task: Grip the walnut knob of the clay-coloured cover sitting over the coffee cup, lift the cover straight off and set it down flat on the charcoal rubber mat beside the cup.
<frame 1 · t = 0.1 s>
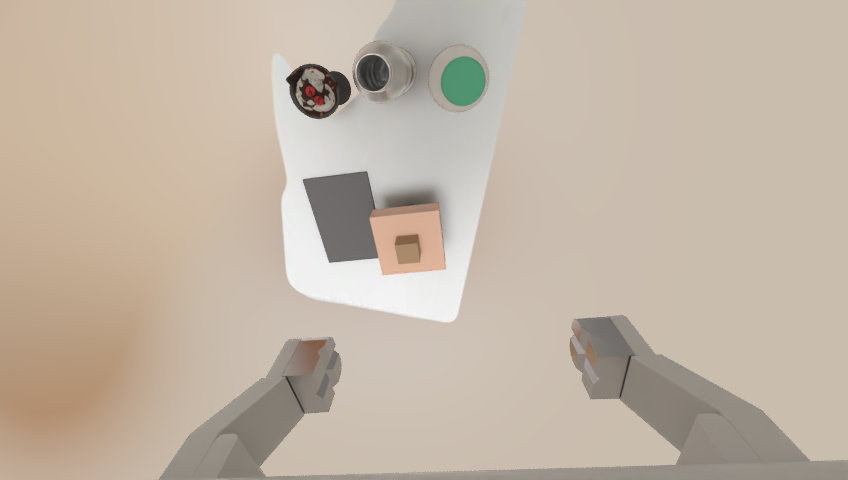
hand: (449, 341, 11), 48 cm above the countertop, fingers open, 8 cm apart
sundae: (336, 88, 51), on the countertop
cover: (409, 242, 52), point 10 cm above the countertop, touching coffee cup
milk bottle: (454, 78, 50), on the countertop
mat: (347, 219, 62), on the countertop
plastic bottle: (395, 72, 50), on the countertop
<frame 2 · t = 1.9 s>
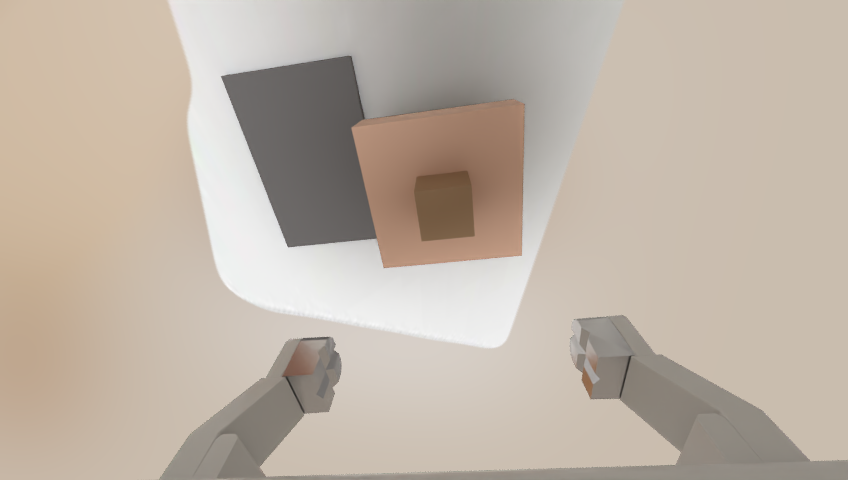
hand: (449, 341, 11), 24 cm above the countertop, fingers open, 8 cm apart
cover: (444, 193, 23), point 10 cm above the countertop, touching coffee cup
mat: (316, 164, 33), on the countertop
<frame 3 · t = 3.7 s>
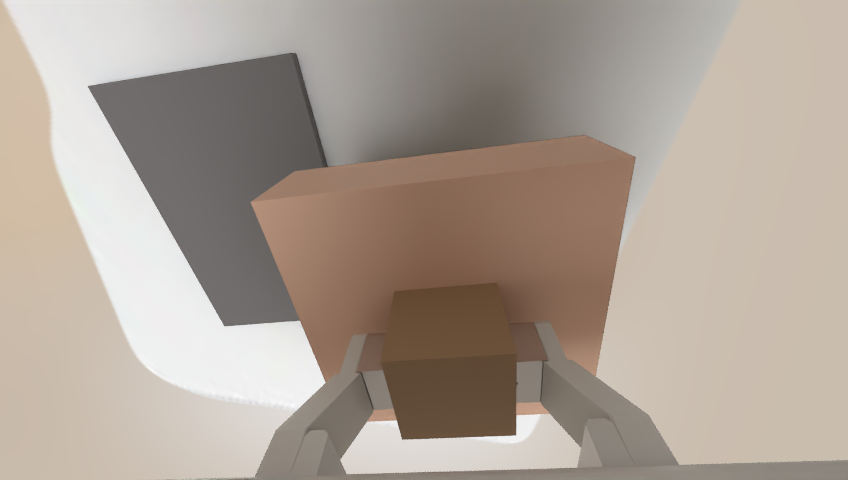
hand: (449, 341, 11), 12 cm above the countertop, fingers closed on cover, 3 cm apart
cover: (449, 310, 12), point 10 cm above the countertop, touching coffee cup, gripper
mat: (254, 216, 22), on the countertop
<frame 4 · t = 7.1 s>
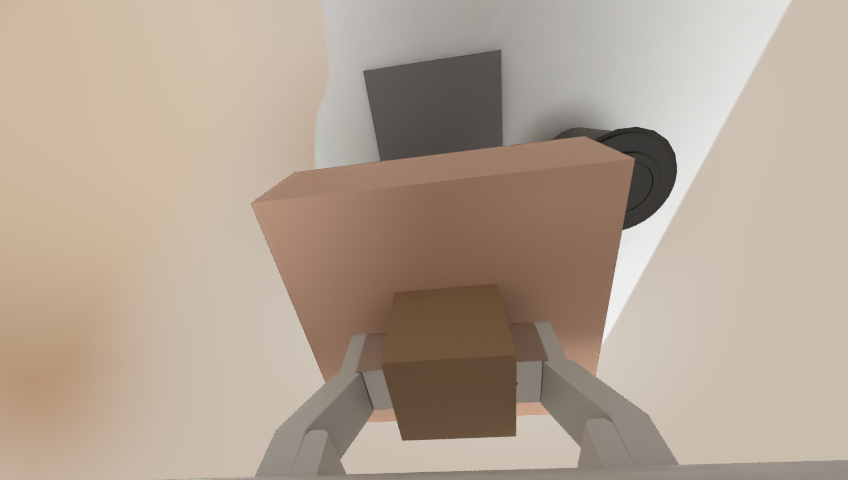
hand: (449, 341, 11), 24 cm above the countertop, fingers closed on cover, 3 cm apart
coffee cup: (572, 155, 31), on the countertop
cover: (448, 311, 12), point 22 cm above the countertop, touching gripper
mat: (441, 162, 32), on the countertop
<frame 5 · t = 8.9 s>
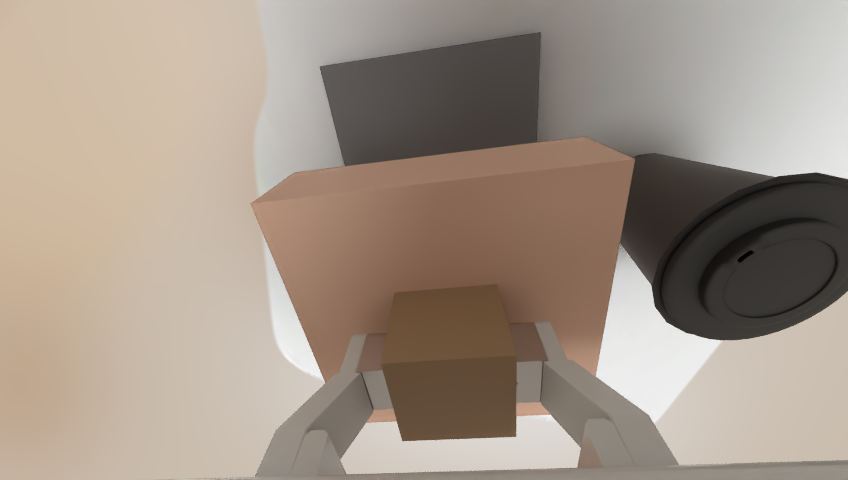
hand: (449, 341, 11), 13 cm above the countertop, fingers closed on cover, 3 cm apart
coffee cup: (636, 192, 21), on the countertop
cover: (448, 312, 12), point 11 cm above the countertop, touching gripper
mat: (443, 201, 22), on the countertop
when the fingers open (6 cm above the countertop, at t = 10.5 s): cover drops 1 cm, resting on mat.
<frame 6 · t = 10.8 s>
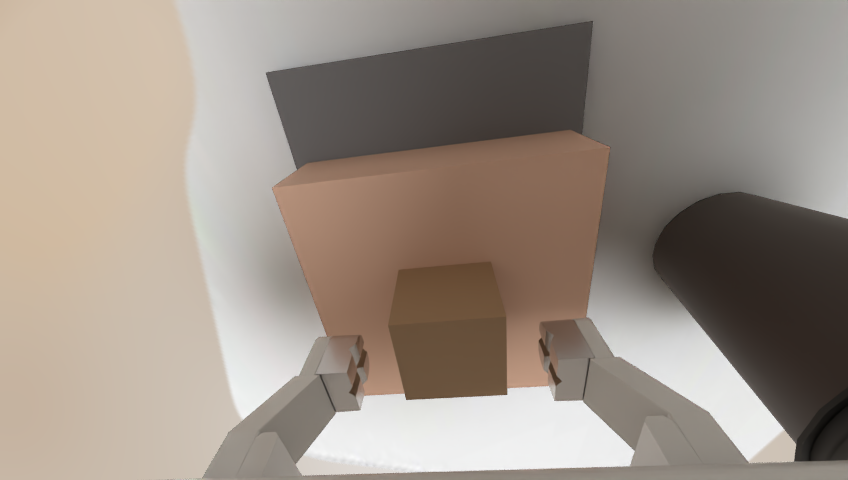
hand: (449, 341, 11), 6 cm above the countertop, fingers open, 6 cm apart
coffee cup: (708, 242, 16), on the countertop
cover: (447, 289, 13), point 3 cm above the countertop, touching mat
mat: (445, 252, 16), on the countertop
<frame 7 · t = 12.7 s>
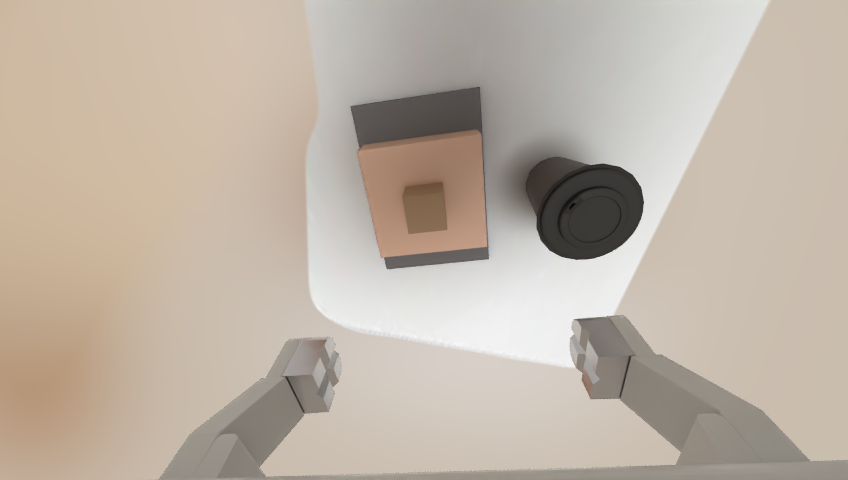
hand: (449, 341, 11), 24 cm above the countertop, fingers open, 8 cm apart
coffee cup: (551, 182, 33), on the countertop
cover: (426, 199, 31), point 3 cm above the countertop, touching mat
mat: (427, 189, 33), on the countertop
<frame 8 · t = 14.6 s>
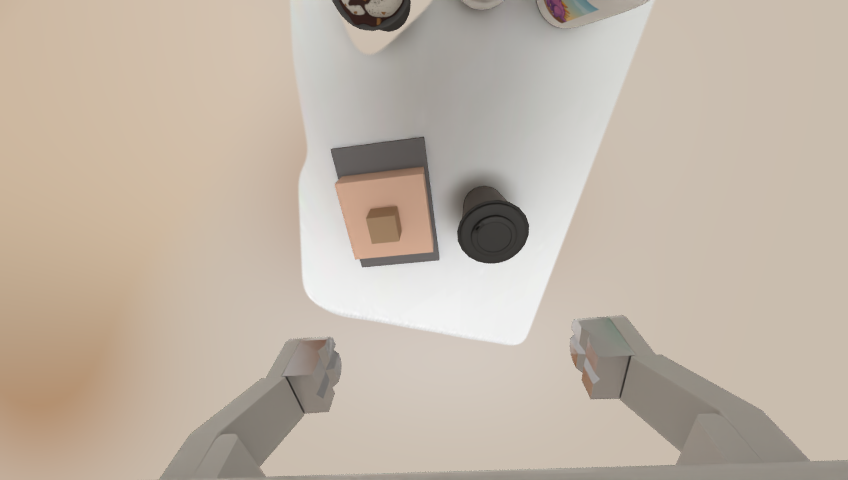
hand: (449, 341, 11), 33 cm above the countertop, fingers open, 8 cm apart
coffee cup: (482, 203, 44), on the countertop
sundae: (387, 3, 33), on the countertop
cover: (387, 217, 42), point 3 cm above the countertop, touching mat
mat: (390, 208, 44), on the countertop
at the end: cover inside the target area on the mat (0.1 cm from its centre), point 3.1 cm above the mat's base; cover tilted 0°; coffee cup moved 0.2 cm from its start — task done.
